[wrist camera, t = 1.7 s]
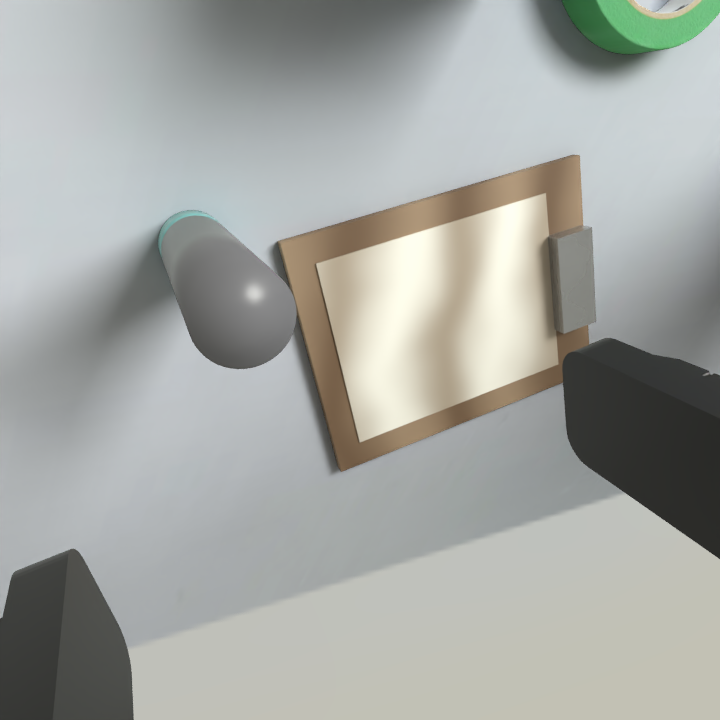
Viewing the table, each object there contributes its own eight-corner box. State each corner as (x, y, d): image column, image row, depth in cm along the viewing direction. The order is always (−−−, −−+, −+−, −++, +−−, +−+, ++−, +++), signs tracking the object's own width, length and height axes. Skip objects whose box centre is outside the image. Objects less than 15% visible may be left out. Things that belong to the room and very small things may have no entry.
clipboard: (572, 154, 35) (591, 155, 33) (584, 368, 41) (600, 376, 39) (277, 241, 30) (285, 246, 29) (338, 466, 36) (347, 480, 35)
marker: (215, 202, 29) (281, 249, 17) (234, 266, 30) (307, 349, 19) (148, 220, 28) (171, 282, 17) (171, 285, 29) (207, 383, 18)
